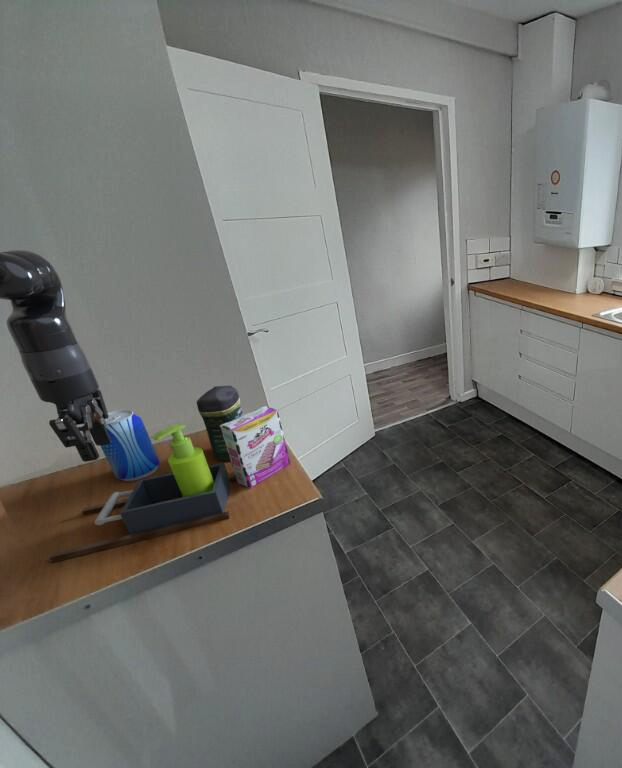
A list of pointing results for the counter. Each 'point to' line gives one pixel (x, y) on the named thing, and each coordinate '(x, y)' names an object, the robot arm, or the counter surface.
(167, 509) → the tray
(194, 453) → the soap dispenser
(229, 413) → the coffee jar
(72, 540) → the counter surface
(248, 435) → the candy bar box
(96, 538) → the counter surface
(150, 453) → the beer can
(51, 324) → the robot arm
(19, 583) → the counter surface
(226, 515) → the rails
